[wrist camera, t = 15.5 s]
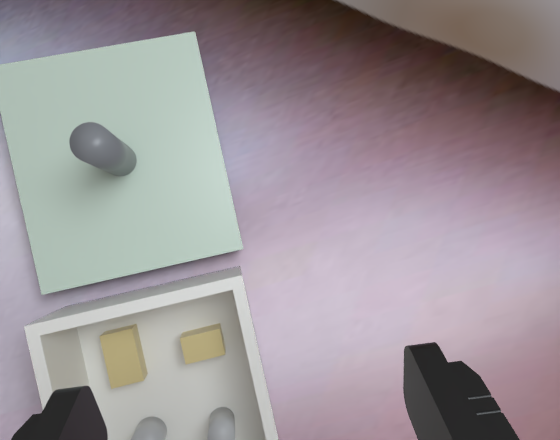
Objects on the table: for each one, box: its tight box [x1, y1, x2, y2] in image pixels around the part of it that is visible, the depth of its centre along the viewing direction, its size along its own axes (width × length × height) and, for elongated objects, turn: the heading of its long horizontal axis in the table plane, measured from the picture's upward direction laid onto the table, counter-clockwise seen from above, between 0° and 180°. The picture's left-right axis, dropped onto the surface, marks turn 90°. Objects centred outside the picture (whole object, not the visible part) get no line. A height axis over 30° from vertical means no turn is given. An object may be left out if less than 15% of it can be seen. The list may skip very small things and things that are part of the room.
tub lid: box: [0, 32, 243, 295], centre depth 31 cm, size 15×17×10 cm
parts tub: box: [24, 266, 279, 440], centre depth 32 cm, size 14×16×7 cm
